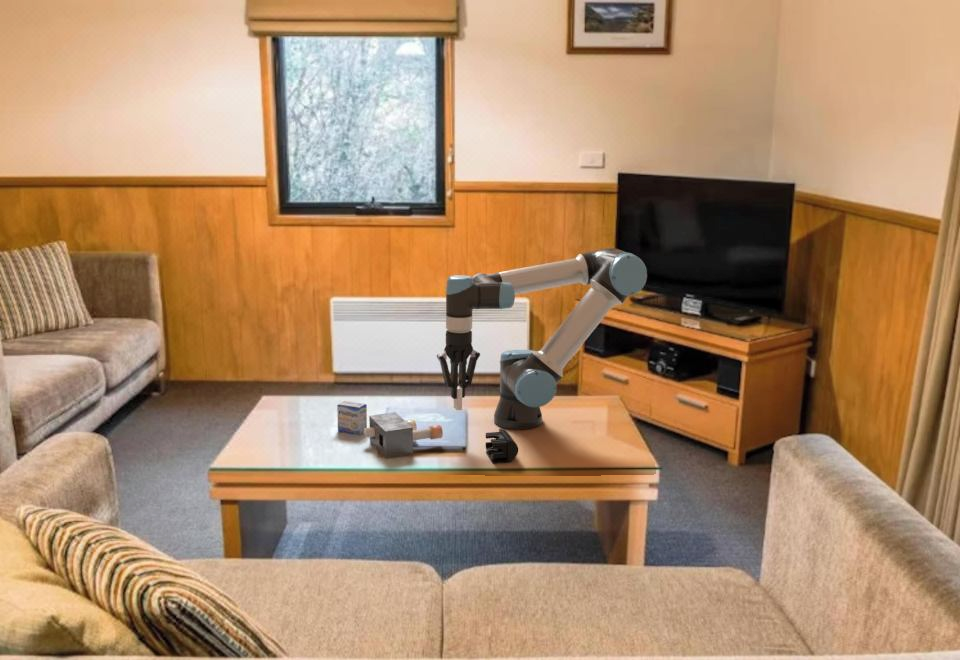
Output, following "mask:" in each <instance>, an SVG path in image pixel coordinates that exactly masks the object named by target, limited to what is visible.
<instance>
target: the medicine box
mask: <svg viewBox="0 0 960 660" xmlns="http://www.w3.org/2000/svg"><path fill="white" fill-rule="evenodd" d="M336 407H337V408H336V409H337V410H336V411H337V431H338V433H339V432H340V433H345V434H354V435H359V436H360V435H362V434H364V429H365V428H368V425H367V423H368V421H367V420H368V417H367V416H368V414H367V412H368V411H367V404H365V403H360V402H353V401H347V400H345V401H341V402H339V403H338V404H337V405H336Z"/></svg>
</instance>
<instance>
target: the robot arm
mask: <svg viewBox="0 0 960 660" xmlns="http://www.w3.org/2000/svg"><path fill="white" fill-rule="evenodd" d="M647 278H648V269H647V267H646V265H645V262H643V260H642V259H641V258H640V257H639V256H637V255H635V254H633V253H631V252H626V251H624V250H621V249H619V248H614V247H609V248H603V249H599V250H598V249H597V250H593V251H589V252H584V253H579V254H577V256H576V257H575V258H571V259H570V258H569V259H564V260H560V261H554V262H549V263H547V262H546V263H544V264H543V263H542V264H536V265H532V266H526V267H521V268H515V269H509V270H506V271H499V272H494V273H489V274H487V273H482V272H481V273H480V272H479V273H477V274H474V275H473V276H470V275H462V274H461V275H460V274H459V275H458V274H456V275H450V276H448V278H447V279H446V289H445V311H446V312H445V314H446V315H445V328H446V330H445V347H444V350H443V352H442V353H440V354H439V353H438V354H437V355H436V359H438V362H439V363H440V368H441V372H442V377H443V381H444V384H445V386H447V387H448V388H451V390H450V392H451V393H450V394H451V395H450V397H451V398H452V399H453V408H454V409H455V410H456V411H461V410H463V398H464V399H465V397H466V389H467V387H468V385H469V386H470V385H472V383H473V379H474V374H475V369H476V365H477V361H478V360H479V357H480V356H481V353H480V352H478V351H477V350H475V349H474V348H473V344H472V342H473V331H472V329H473V310H503V309H504V310H505V309H511V308H512V307H513V306H514V303H515V300H516V299H515V298H516V297H515V296H516V295H520V294H525V293H531V292H537V291H542V290H547V289H552V288H556V287H563V286H569V285H573V284H579V283H580V284H582V285H583V286H587V285H590V288H589V289H588V291H587V292H586V293H585V294H584V296H583V297H582V298H581V299H580V300H579V302H578V303H577V304H575V305H576V306H574V308H573V309H572V310H571V312H570V313H569V314H568V316H566V318H565V319H564V320H563V322H562V323H561V324H560V325H559V326H558V327H557V329H556V330H555V331H554V333H553V334H552V335H551V336H550V338H549V339H548V340H547V341H546V342H545V344H544V345H543V346H542V347H541V348H540V350H532V349H510V350H509V349H508V350H505V351H502V353H501V354H500V360H499V365H500V367H499V368H500V369H499V373H500V374H499V382H500V383H499V399H498V402H497V405H496V408H495V410H494V411H495V412H494V413H493V414H494V415H493V423H494V424H495V425H497V426H498V427H501V428H503V429H508V430H530V429H534V428H537V427H540V426H541V425H542V424H543V414H542V410H541V407H544V406H546V405H547V404H549V403H551V401H552V400H554V398H555V396H556V393H557V384H558V383H559V382H560V381H561V379H562V378H563V377H564V375H563V369H564V367H566V365H567V364H568V363H569V361H570V360H571V359H573V356H574V355H576V353H577V352H578V350H580V348H581V346H582V345H583V344H584V343H585V342H586V341H587V339H588V338H589V337H590V336H591V334H592V333H593V332H594V331H595V330H596V329H597V327H598V326H599V324H600V323H601V322H602V321H603V319H604V318H605V317H606V316H607V315H608V313H609V312H610V311H611V310H612V308H613V307H615V306H621V305H622V304H624V302H625V301H626V300H627V299H628V297H630V296H634V295H635V294H637V293H639V292H640V291H642V289H644V286H645V285H646V282H647ZM447 359H449V363H450V369H449V366H448V362H447ZM468 359H469V360H468ZM449 370H450V371H449Z"/></svg>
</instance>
